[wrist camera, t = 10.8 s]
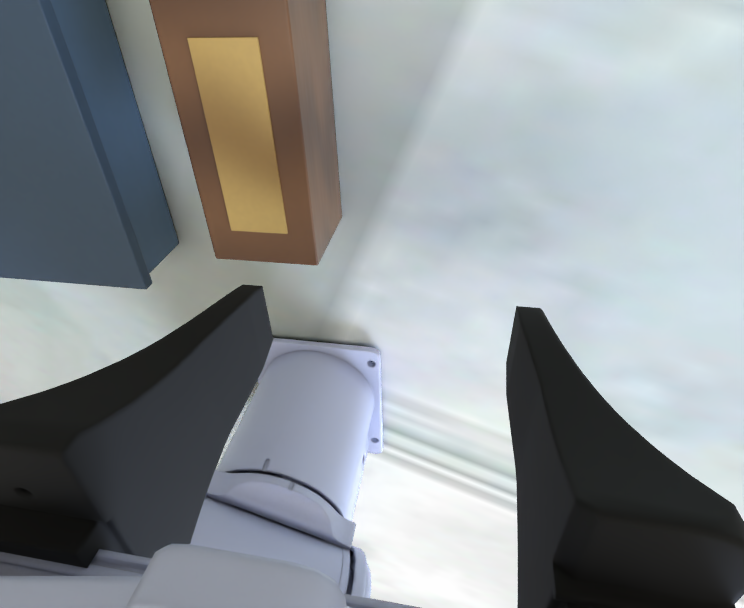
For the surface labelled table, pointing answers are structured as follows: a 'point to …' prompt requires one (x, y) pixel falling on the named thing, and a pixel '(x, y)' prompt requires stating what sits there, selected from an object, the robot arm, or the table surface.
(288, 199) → the plaque
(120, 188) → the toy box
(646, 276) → the table surface
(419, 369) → the table surface
